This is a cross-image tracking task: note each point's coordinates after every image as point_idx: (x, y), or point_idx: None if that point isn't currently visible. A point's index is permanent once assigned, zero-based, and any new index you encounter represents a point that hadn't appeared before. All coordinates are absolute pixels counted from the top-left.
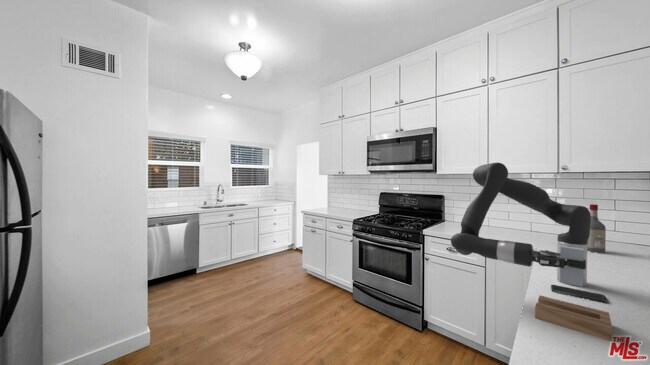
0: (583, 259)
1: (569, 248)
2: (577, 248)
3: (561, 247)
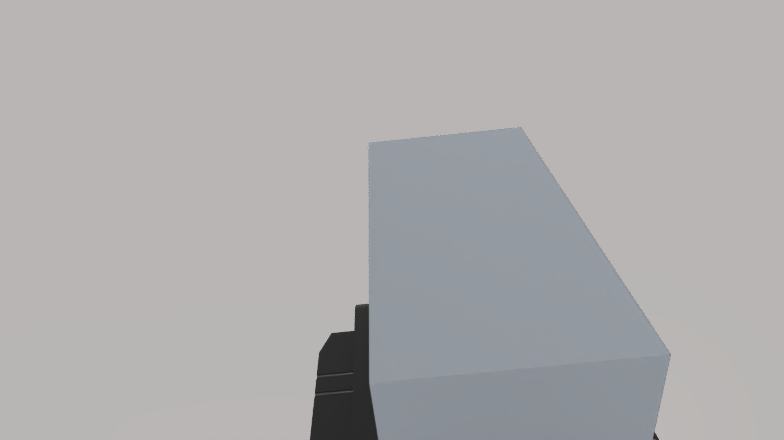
0: (365, 310)
1: (580, 235)
2: (443, 171)
3: (663, 348)
